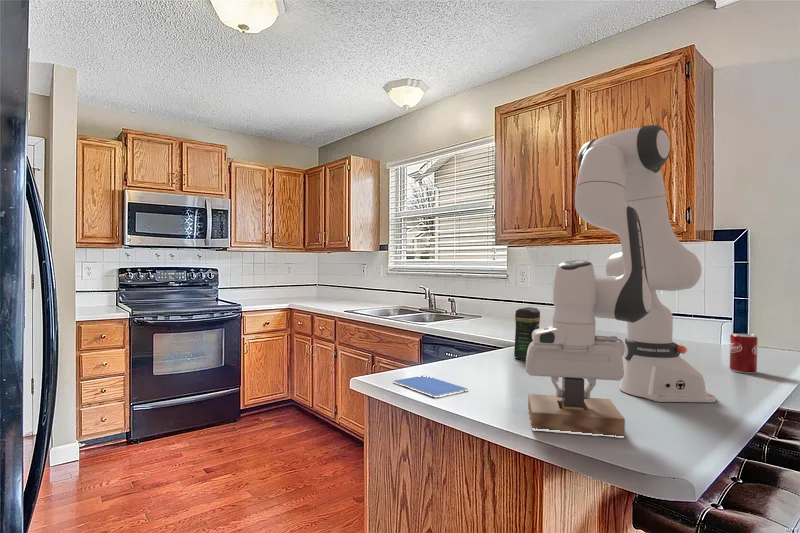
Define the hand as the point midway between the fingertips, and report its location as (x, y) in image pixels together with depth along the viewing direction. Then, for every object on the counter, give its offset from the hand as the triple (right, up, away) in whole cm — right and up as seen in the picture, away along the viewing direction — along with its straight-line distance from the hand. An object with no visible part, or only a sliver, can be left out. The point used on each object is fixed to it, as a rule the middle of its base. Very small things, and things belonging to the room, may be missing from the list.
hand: (572, 397), depth 104 cm
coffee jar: (+8, -5, +69) cm, 69 cm away
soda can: (+74, -6, +51) cm, 90 cm away
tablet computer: (-30, -6, +29) cm, 42 cm away
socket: (0, -6, 0) cm, 6 cm away
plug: (0, -5, 0) cm, 5 cm away
